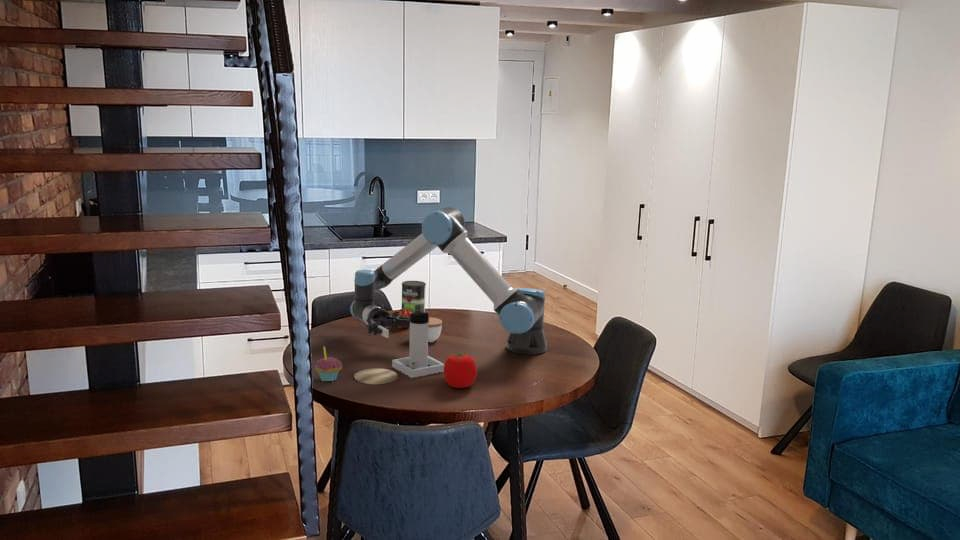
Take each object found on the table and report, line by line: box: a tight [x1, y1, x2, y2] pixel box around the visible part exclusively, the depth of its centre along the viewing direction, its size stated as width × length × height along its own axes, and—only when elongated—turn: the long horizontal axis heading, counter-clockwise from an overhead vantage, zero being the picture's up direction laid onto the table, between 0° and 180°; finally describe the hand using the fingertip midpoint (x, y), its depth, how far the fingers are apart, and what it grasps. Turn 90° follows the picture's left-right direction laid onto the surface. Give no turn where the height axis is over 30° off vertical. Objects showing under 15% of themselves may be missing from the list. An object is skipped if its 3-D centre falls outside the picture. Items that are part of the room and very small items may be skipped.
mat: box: [353, 367, 398, 385], centre depth 242 cm, size 14×14×1 cm
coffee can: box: [401, 280, 427, 314], centre depth 319 cm, size 10×10×14 cm
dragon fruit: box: [392, 308, 412, 330], centre depth 299 cm, size 8×8×12 cm
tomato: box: [443, 352, 478, 389], centre depth 235 cm, size 10×11×11 cm
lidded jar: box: [428, 316, 443, 343], centre depth 283 cm, size 11×11×9 cm
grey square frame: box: [391, 355, 445, 379], centre depth 250 cm, size 13×13×2 cm
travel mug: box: [408, 312, 430, 369], centre depth 249 cm, size 6×7×20 cm
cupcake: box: [314, 346, 343, 382], centre depth 237 cm, size 9×8×12 cm
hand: (405, 331), depth 256 cm, fingers open, 13 cm apart
